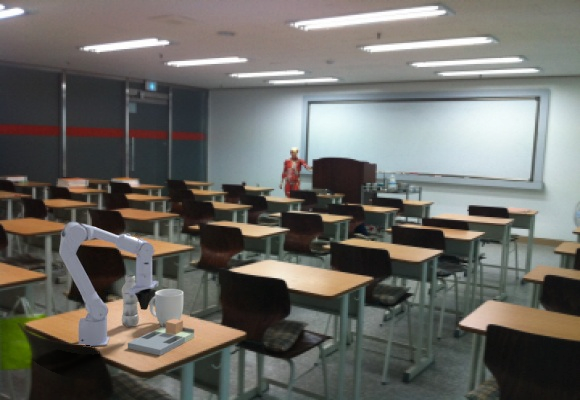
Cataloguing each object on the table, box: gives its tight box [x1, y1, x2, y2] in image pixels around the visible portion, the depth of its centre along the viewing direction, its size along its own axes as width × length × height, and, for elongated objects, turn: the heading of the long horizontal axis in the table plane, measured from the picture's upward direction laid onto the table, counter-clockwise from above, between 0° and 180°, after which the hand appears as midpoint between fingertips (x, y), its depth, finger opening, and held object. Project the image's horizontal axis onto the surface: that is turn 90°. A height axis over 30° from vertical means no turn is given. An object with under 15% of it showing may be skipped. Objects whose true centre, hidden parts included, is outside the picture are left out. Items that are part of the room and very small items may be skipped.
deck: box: [127, 323, 195, 356], centre depth 193 cm, size 20×14×3 cm
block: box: [166, 319, 184, 335], centre depth 199 cm, size 4×4×4 cm
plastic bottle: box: [121, 274, 140, 328], centre depth 210 cm, size 6×7×20 cm
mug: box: [148, 288, 184, 327], centre depth 214 cm, size 15×11×13 cm
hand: (144, 309), depth 200 cm, fingers closed
